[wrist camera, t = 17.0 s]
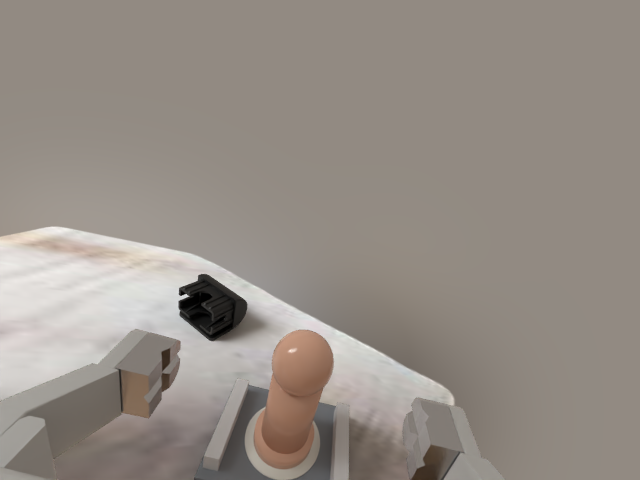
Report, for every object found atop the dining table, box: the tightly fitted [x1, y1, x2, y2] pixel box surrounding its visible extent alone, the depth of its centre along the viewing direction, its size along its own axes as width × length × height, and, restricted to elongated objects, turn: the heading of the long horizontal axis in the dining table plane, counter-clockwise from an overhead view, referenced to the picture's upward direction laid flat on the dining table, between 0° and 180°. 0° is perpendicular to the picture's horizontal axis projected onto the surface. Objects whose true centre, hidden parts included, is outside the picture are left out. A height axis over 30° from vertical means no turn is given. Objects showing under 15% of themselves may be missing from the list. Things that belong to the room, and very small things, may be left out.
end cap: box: [179, 274, 247, 341], centre depth 54 cm, size 10×7×7 cm
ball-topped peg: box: [253, 330, 334, 469], centre depth 33 cm, size 7×7×15 cm
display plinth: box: [194, 378, 349, 480], centre depth 37 cm, size 16×12×4 cm
